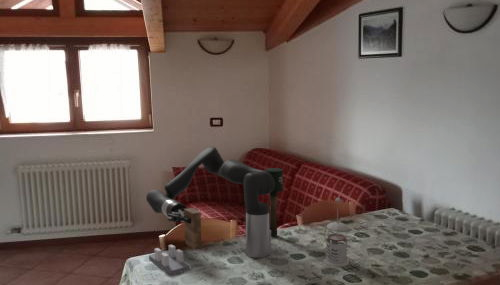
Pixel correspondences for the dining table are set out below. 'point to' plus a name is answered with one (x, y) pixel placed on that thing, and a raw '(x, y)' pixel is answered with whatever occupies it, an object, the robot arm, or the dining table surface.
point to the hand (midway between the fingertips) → (194, 220)
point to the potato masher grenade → (275, 197)
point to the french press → (336, 244)
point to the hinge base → (170, 260)
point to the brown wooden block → (193, 228)
